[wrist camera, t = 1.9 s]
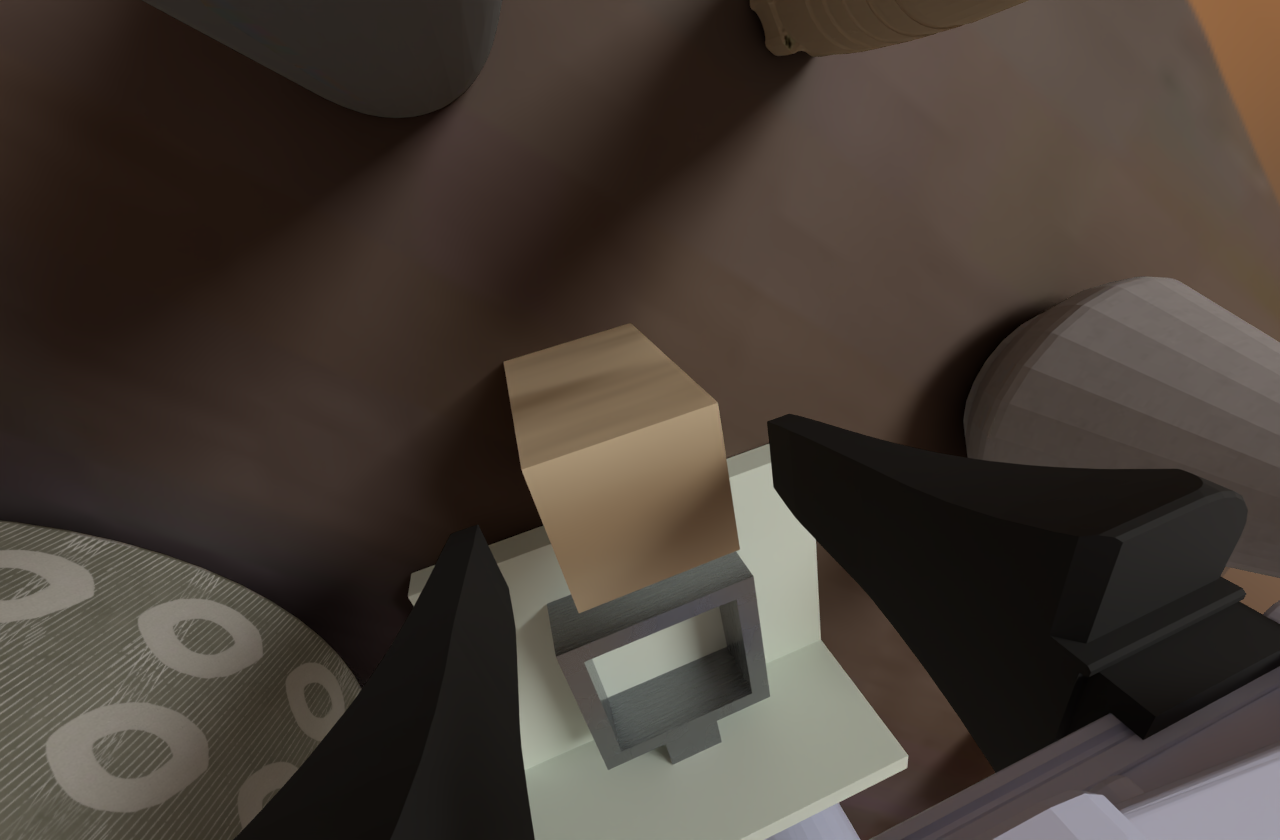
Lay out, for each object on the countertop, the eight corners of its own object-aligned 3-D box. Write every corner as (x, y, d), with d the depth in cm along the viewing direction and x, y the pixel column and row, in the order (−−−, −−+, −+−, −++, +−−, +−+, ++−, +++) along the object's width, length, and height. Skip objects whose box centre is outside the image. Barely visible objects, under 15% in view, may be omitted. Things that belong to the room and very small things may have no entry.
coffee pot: (888, 415, 22) (1468, 746, 9) (1089, 205, 20) (2141, 251, 8) (1040, 585, 33) (1414, 853, 20) (1182, 455, 31) (1693, 654, 18)
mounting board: (808, 633, 27) (907, 767, 21) (523, 758, 25) (540, 952, 18) (794, 434, 21) (929, 541, 15) (411, 573, 18) (380, 773, 12)
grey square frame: (747, 672, 25) (773, 718, 23) (604, 735, 24) (617, 790, 22) (724, 534, 21) (753, 576, 18) (546, 603, 19) (556, 656, 17)
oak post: (655, 432, 19) (740, 549, 13) (544, 470, 18) (578, 613, 12) (630, 322, 17) (717, 402, 11) (503, 361, 16) (521, 470, 10)
